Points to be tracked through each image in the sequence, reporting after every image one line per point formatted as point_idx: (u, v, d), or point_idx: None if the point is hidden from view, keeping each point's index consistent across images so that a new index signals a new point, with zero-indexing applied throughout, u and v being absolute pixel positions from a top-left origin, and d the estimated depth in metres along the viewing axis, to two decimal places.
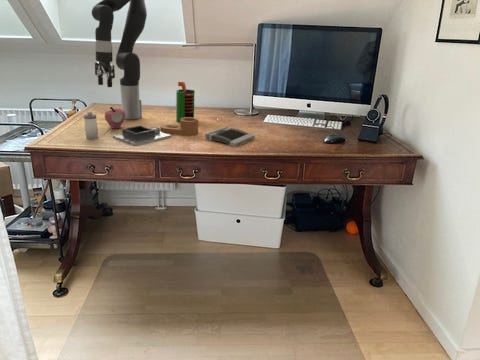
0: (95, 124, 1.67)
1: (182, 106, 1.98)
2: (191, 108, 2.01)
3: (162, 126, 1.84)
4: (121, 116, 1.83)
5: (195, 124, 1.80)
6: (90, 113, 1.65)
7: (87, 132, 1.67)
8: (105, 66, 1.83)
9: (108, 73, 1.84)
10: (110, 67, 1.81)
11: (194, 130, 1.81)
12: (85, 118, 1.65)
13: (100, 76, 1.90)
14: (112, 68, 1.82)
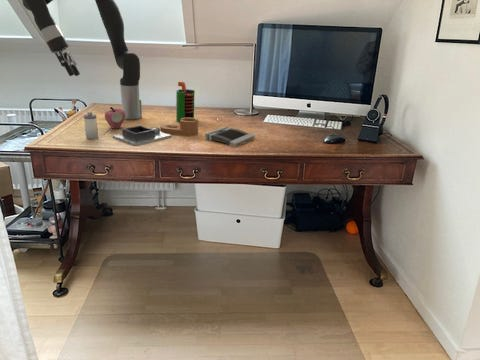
0: (95, 124, 1.67)
1: (182, 106, 1.98)
2: (191, 108, 2.01)
3: (162, 126, 1.84)
4: (121, 116, 1.83)
5: (195, 124, 1.80)
6: (90, 113, 1.65)
7: (87, 132, 1.67)
8: None
9: (63, 61, 1.62)
10: (56, 54, 1.59)
11: (194, 130, 1.80)
12: (85, 118, 1.65)
13: (72, 66, 1.71)
14: (59, 54, 1.59)
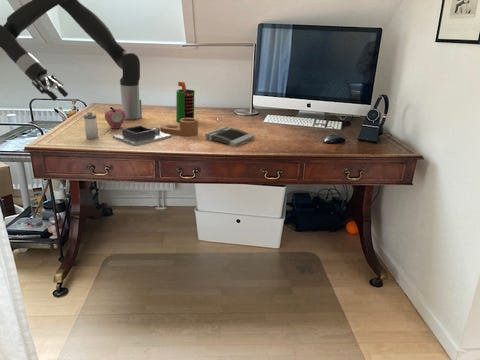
0: (95, 124, 1.67)
1: (182, 106, 1.98)
2: (191, 108, 2.01)
3: (162, 126, 1.84)
4: (121, 116, 1.83)
5: (194, 125, 1.79)
6: (90, 113, 1.65)
7: (87, 132, 1.67)
8: None
9: None
10: (33, 83, 1.56)
11: (193, 131, 1.80)
12: (85, 118, 1.65)
13: (59, 88, 1.67)
14: (36, 83, 1.56)
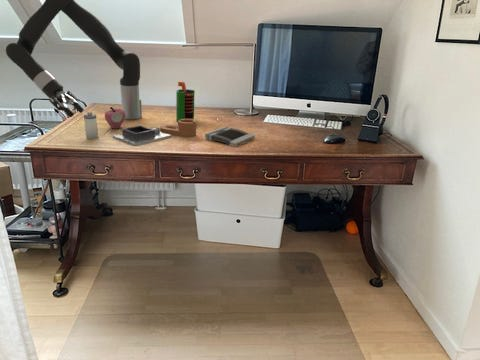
0: (95, 124, 1.67)
1: (182, 106, 1.98)
2: (191, 108, 2.01)
3: (162, 126, 1.83)
4: (121, 116, 1.83)
5: (192, 126, 1.77)
6: (90, 113, 1.65)
7: (87, 132, 1.67)
8: None
9: None
10: (51, 101, 1.59)
11: (190, 132, 1.77)
12: (85, 118, 1.65)
13: (75, 104, 1.69)
14: (53, 100, 1.58)
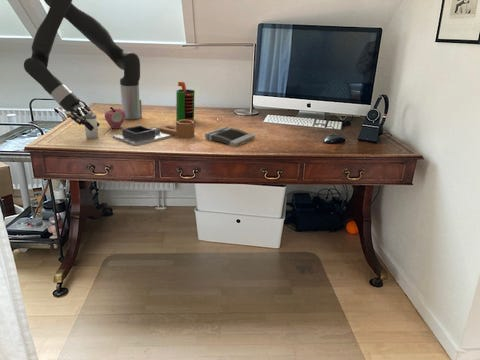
0: (95, 124, 1.67)
1: (182, 106, 1.98)
2: (191, 108, 2.01)
3: (161, 126, 1.83)
4: (121, 116, 1.83)
5: (189, 127, 1.75)
6: (90, 113, 1.65)
7: (87, 132, 1.67)
8: None
9: None
10: (70, 116, 1.61)
11: (187, 133, 1.76)
12: None
13: None
14: (73, 116, 1.60)
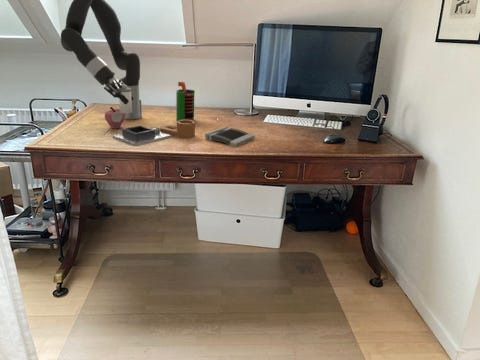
0: (130, 97, 1.65)
1: (182, 106, 1.98)
2: (191, 108, 2.01)
3: (162, 126, 1.83)
4: (121, 116, 1.83)
5: (189, 127, 1.75)
6: (125, 86, 1.63)
7: (122, 106, 1.65)
8: None
9: (115, 91, 1.62)
10: (106, 89, 1.58)
11: (188, 133, 1.76)
12: None
13: None
14: (108, 88, 1.58)
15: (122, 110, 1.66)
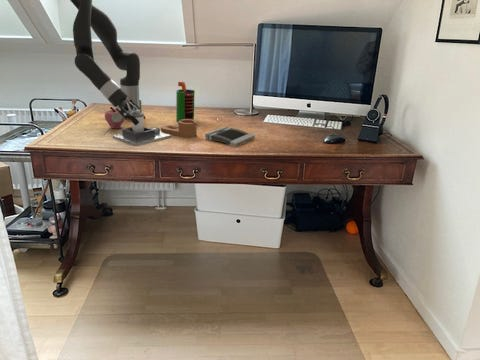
0: (142, 122, 1.70)
1: (182, 106, 1.98)
2: (191, 108, 2.01)
3: (163, 126, 1.83)
4: (121, 116, 1.83)
5: (191, 127, 1.76)
6: (138, 111, 1.68)
7: (134, 130, 1.70)
8: None
9: None
10: (118, 109, 1.62)
11: (190, 133, 1.77)
12: None
13: None
14: (120, 109, 1.62)
15: None
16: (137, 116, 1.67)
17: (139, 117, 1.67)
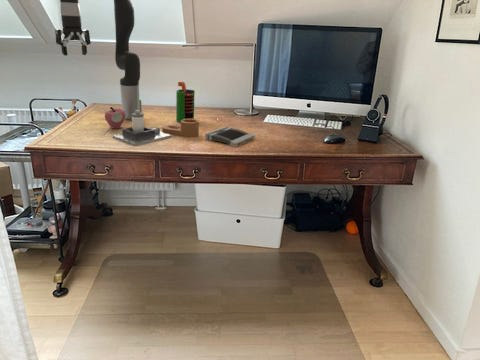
0: (142, 122, 1.70)
1: (182, 106, 1.98)
2: (191, 108, 2.01)
3: (164, 126, 1.83)
4: (121, 116, 1.83)
5: (194, 126, 1.77)
6: (138, 111, 1.68)
7: (134, 130, 1.70)
8: None
9: (63, 39, 1.64)
10: (56, 31, 1.61)
11: (193, 132, 1.78)
12: (133, 116, 1.67)
13: (82, 45, 1.70)
14: (57, 33, 1.61)
15: None
16: (137, 116, 1.67)
17: (139, 117, 1.67)
